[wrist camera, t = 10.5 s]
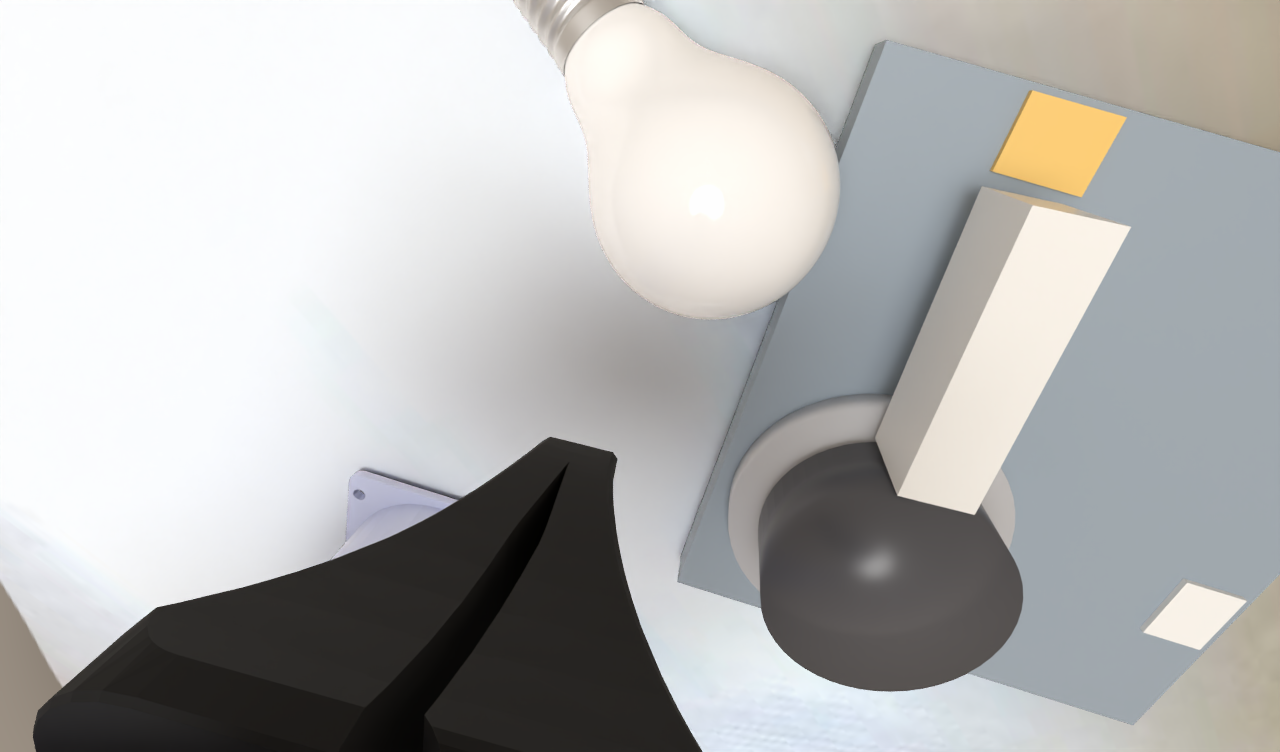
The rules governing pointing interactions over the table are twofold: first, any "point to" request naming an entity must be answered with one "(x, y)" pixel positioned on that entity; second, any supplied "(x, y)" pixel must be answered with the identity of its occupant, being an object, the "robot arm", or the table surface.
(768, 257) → the lightbulb
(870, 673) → the cap
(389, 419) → the table surface
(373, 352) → the table surface
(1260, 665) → the table surface
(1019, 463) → the base
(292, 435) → the table surface
